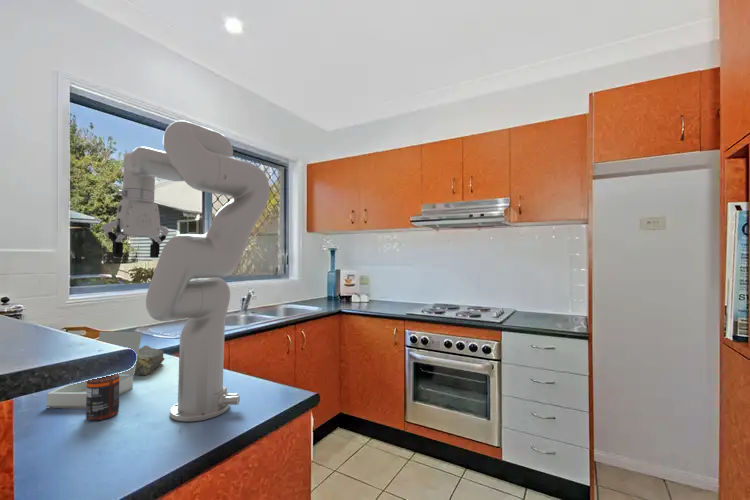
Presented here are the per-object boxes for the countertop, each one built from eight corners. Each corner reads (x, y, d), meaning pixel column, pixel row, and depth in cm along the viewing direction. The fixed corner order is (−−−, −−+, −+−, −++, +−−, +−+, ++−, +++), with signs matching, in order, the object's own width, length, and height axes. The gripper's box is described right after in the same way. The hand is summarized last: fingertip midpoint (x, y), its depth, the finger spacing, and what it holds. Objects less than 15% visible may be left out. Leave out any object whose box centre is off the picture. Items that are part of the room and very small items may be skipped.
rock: (168, 359, 110) (130, 354, 105) (160, 381, 109) (122, 378, 104) (167, 345, 125) (134, 341, 120) (161, 365, 124) (127, 361, 119)
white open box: (140, 383, 101) (142, 331, 102) (95, 408, 84) (97, 346, 85) (99, 383, 101) (101, 331, 101) (46, 408, 84) (48, 345, 85)
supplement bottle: (117, 408, 85) (119, 360, 85) (119, 416, 80) (121, 366, 81) (85, 414, 81) (86, 364, 81) (85, 424, 77) (87, 371, 77)
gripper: (111, 190, 93) (109, 257, 92) (176, 201, 108) (174, 257, 107) (97, 193, 96) (94, 256, 96) (161, 202, 112) (159, 257, 111)
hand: (136, 257), depth 102 cm, fingers open, 9 cm apart
